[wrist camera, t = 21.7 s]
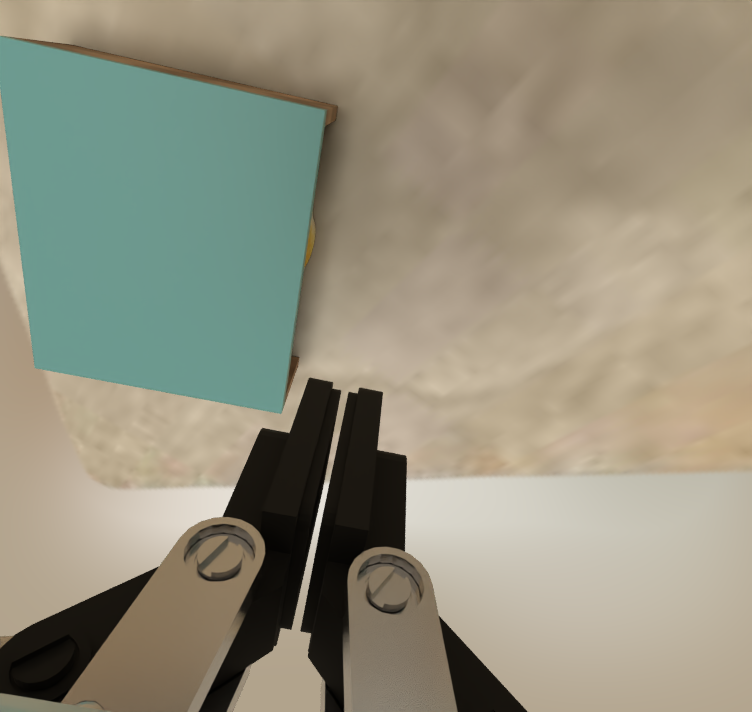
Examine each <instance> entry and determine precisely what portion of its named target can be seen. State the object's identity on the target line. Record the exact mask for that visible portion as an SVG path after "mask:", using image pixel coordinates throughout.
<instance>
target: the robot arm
mask: <svg viewBox="0 0 752 712" xmlns="http://www.w3.org/2000/svg"><path fill="white" fill-rule="evenodd" d="M332 387H333V382H329V381H324V380H319V379H314V378H309V380H308V382H307V385H306V388H305V391H304V394H303V397H302V399H301V402H300V405H299V408H298V411H297V414H296V417H295V419H294V422H293V425H292V428H291V431H290V433H286V432H281V431H276V430H270V429H265V428H262V429H261V431H260V432H259V434H258V437H257V439H256V441H255V444H254V446H253V448H252V450H251V453H250V455H249V457H248V460H247V462H246V464H245V467H244V469H243V471H242V473H241V476H240V478H239V480H238V483H237V485H236V487H235V489H234V492H233V494H232V497H231V499H230V501H229V503H228V506H227V508H226V510H225V513H224V515H223V517H219V518H212V519H208V520H205V521H201V522H199V523H198V524H196V525H194V526H193V527H191V528H189V529H188V530H187V531H186V532H185V533H184V534H183V535H182V536H181V537H180V539H179V540H178V541H177V543H176V544H175V545H174V547H173V548H172V550H171V551H170V552H169V554H168V555H167V556H166V558H165V559H164V561H163V562H162V564H161V565H160V566H159V567H157V568H155V569H153V570H150V571H148V572H146V573H144V574H142V575H140V576H137V577H135V578H133V579H131V580H128V581H126V582H124V583H122V584H120V585H118V586H115V587H113V588H111V589H109V590H107V591H104V592H102V593H100V594H98V595H96V596H94V597H91V598H89V599H87V600H85V601H83V602H80V603H78V604H76V605H74V606H72V607H70V608H67V609H65V610H63V611H61V612H59V613H57V614H55V615H52V616H50V617H48V618H46V619H44V620H41V621H39V622H37V623H35V624H33V625H31V626H29V627H27V628H26V629H24V630H22V631H21V632H19V633H17V634H16V635H14V636H2V637H0V712H233V710H234V708H235V706H236V703H237V701H238V699H239V696H240V694H241V691H242V690H243V687H244V685H245V683H246V680H247V678H248V675H249V672H250V668H251V664H253V663H254V662H256V661H257V660H259V659H260V658H262V657H263V656H265V655H266V654H268V653H269V652H271V651H272V650H273V647H274V646H276V645H277V641H278V637H279V632H280V628H285V629H290V630H291V629H292V625H293V620H294V616H295V611H296V607H297V602H298V598H299V593H300V589H301V584H302V580H303V576H304V571H305V567H306V562H307V557H308V553H309V549H310V544H311V540H312V535H313V530H314V526H315V522H316V517H317V513H318V508H319V504H320V499H321V495H322V490H323V485H324V480H325V475H326V470H327V464H328V459H329V454H330V448H331V443H332V437H333V432H334V427H335V421H336V416H337V411H338V405H339V400H340V395H341V390H336V389H332ZM382 396H383V392H380V391H375V390H370V389H364V388H359V391H358V394H357V393H352V392H349V393H348V398H347V403H346V407H345V412H344V417H343V422H342V426H341V431H340V436H339V441H338V446H337V450H336V455H335V460H334V465H333V469H332V474H331V479H330V484H329V488H328V493H327V499H326V503H325V508H324V512H323V517H322V523H321V527H320V532H319V537H318V543H317V548H316V553H315V558H314V564H313V569H312V574H311V579H310V585H309V589H308V595H307V600H306V605H305V610H304V615H303V620H302V626H301V632H307V633H311V638H310V644H309V649H308V652H309V653H308V658H309V659H310V660H311V662H312V663H313V665H314V666H315V668H316V669H317V671H318V672H319V674H320V675H321V677H322V684H321V712H527V711H526V710H525V709H524V708H523V706H522V705H521V704H520V703H519V702H518V701H517V700H516V699H515V698H514V697H513V696H512V694H511V693H510V692H509V691H508V690H507V689H506V688H505V687H504V686H503V685H502V684H501V682H500V681H499V680H498V679H497V678H496V677H495V676H494V675H493V674H492V673H491V672H490V671H489V669H487V667H486V666H485V665H484V664H483V663H482V662H481V661H480V660H479V659H478V658H477V656H476V655H475V654H474V653H473V652H472V651H471V650H470V649H469V648H468V647H467V646H466V645H465V644H464V642H463V641H462V640H461V639H460V638H459V637H458V636H457V635H456V634H455V633H454V632H453V630H451V628H450V627H449V626H448V625H447V624H446V623H445V622H444V621H443V620H442V619H441V617H440V616H439V615H438V610H437V606H436V600H435V595H434V589H433V585H432V582H431V579H430V576H429V574H428V572H427V571H426V569H425V568H424V567H423V565H422V564H421V563H420V562H419V561H418V560H416V559H415V558H414V557H413V556H412V555H410V554H408V553H406V552H405V517H406V474H407V458H406V456H405V455H400V454H395V453H389V452H384V451H379V450H377V446H378V436H379V426H380V416H381V406H382Z"/></svg>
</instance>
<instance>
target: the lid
mask: <svg viewBox="0 0 752 712" xmlns="http://www.w3.org/2000/svg"><path fill="white" fill-rule="evenodd" d="M0 90H1V99H2V107H3V115H4V123H5V131H6V139H7V147H8V155H9V163H10V171H11V179H12V188H13V196H14V204H15V212H16V220H17V228H18V236H19V244H20V252H21V260H22V268H23V277H24V285H25V293H26V301H27V309H28V317H29V325H30V333H31V341H32V349H33V357H34V365H35V368H37V369H43V370H48V371H53V372H59V373H64V374H70V375H75V376H80V377H86V378H91V379H96V380H102V381H107V382H113V383H118V384H123V385H129V386H134V387H140V388H145V389H150V390H156V391H161V392H166V393H172V394H177V395H183V396H188V397H193V398H199V399H204V400H210V401H215V402H220V403H226V404H231V405H236V406H242V407H247V408H253V409H258V410H263V411H269V412H274V413H280V414H281V413H282V410H283V407H284V403H285V396H286V389H287V383H288V376H289V369H290V362H291V355H292V348H293V341H294V334H295V328H296V321H297V314H298V307H299V300H300V293H301V286H302V280H303V273H304V266H305V259H306V252H307V245H308V238H309V231H310V225H311V218H312V211H313V204H314V197H315V190H316V183H317V176H318V170H319V163H320V156H321V149H322V142H323V135H324V128H325V122H326V115H327V110H326V109H322V108H318V107H313V106H309V105H304V104H300V103H296V102H291V101H287V100H282V99H278V98H274V97H269V96H265V95H261V94H256V93H252V92H247V91H243V90H239V89H234V88H230V87H226V86H221V85H217V84H212V83H208V82H204V81H199V80H195V79H191V78H186V77H182V76H177V75H173V74H169V73H164V72H160V71H156V70H151V69H147V68H142V67H138V66H134V65H129V64H125V63H121V62H116V61H112V60H107V59H103V58H99V57H94V56H90V55H86V54H81V53H77V52H72V51H68V50H64V49H59V48H55V47H51V46H46V45H42V44H37V43H33V42H29V41H24V40H20V39H16V38H11V37H6V36H0Z"/></svg>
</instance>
